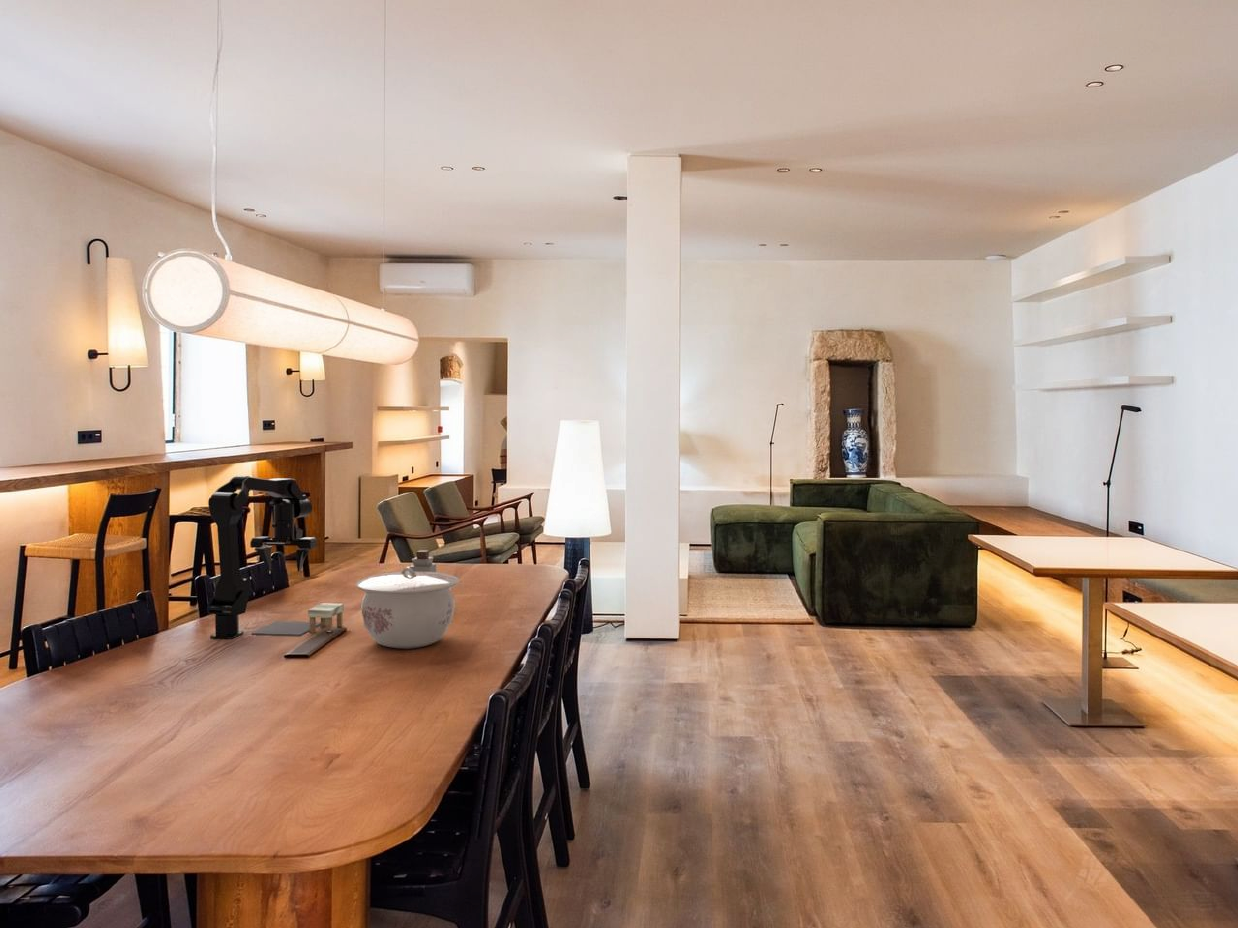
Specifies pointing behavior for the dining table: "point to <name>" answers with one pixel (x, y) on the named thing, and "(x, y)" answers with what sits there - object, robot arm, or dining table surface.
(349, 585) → the dining table surface
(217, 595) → the robot arm
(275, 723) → the dining table surface
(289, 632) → the felt pad
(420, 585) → the chamber pot
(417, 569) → the perfume bottle
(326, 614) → the stool
